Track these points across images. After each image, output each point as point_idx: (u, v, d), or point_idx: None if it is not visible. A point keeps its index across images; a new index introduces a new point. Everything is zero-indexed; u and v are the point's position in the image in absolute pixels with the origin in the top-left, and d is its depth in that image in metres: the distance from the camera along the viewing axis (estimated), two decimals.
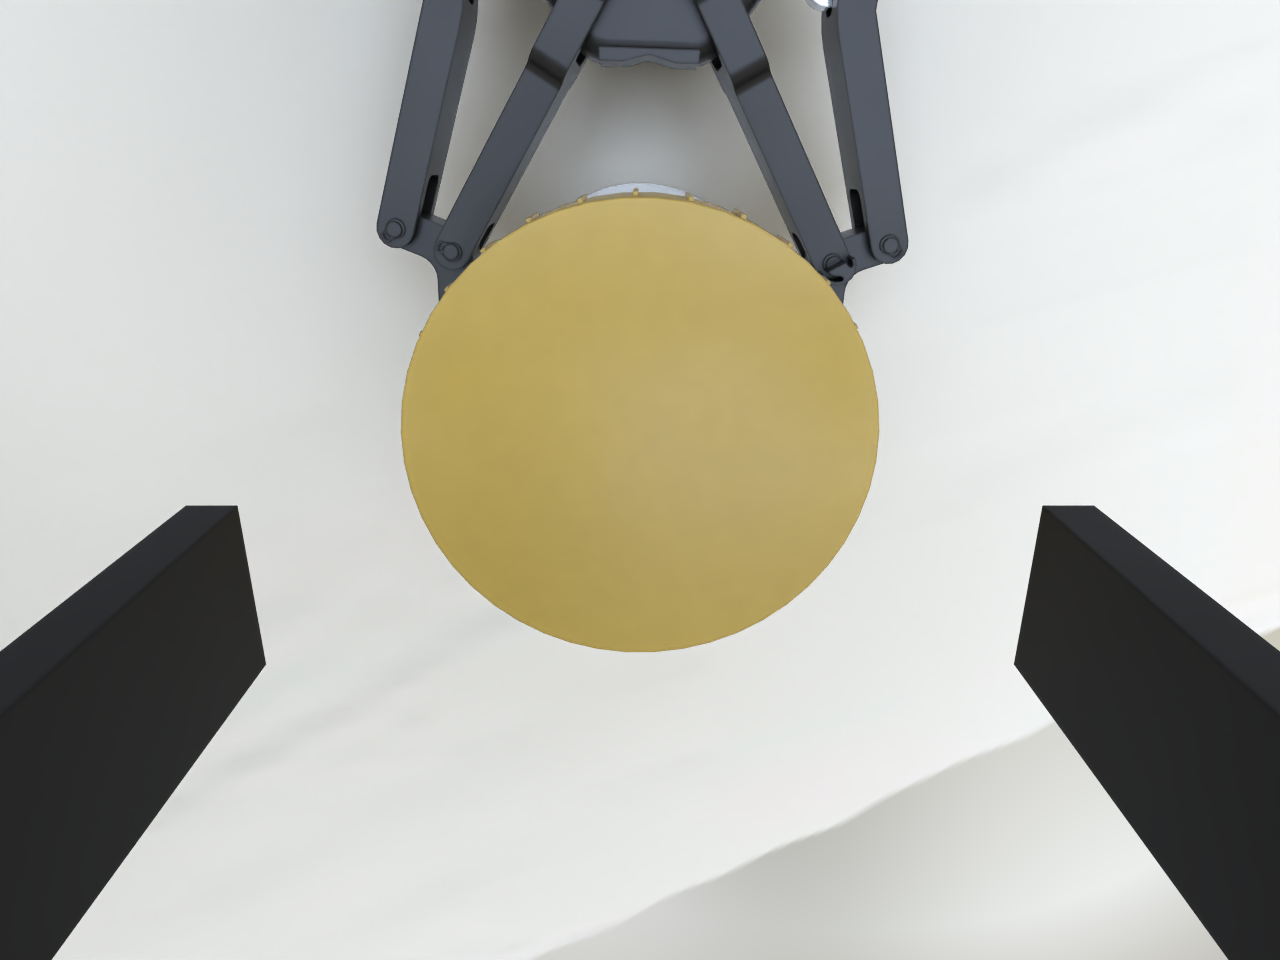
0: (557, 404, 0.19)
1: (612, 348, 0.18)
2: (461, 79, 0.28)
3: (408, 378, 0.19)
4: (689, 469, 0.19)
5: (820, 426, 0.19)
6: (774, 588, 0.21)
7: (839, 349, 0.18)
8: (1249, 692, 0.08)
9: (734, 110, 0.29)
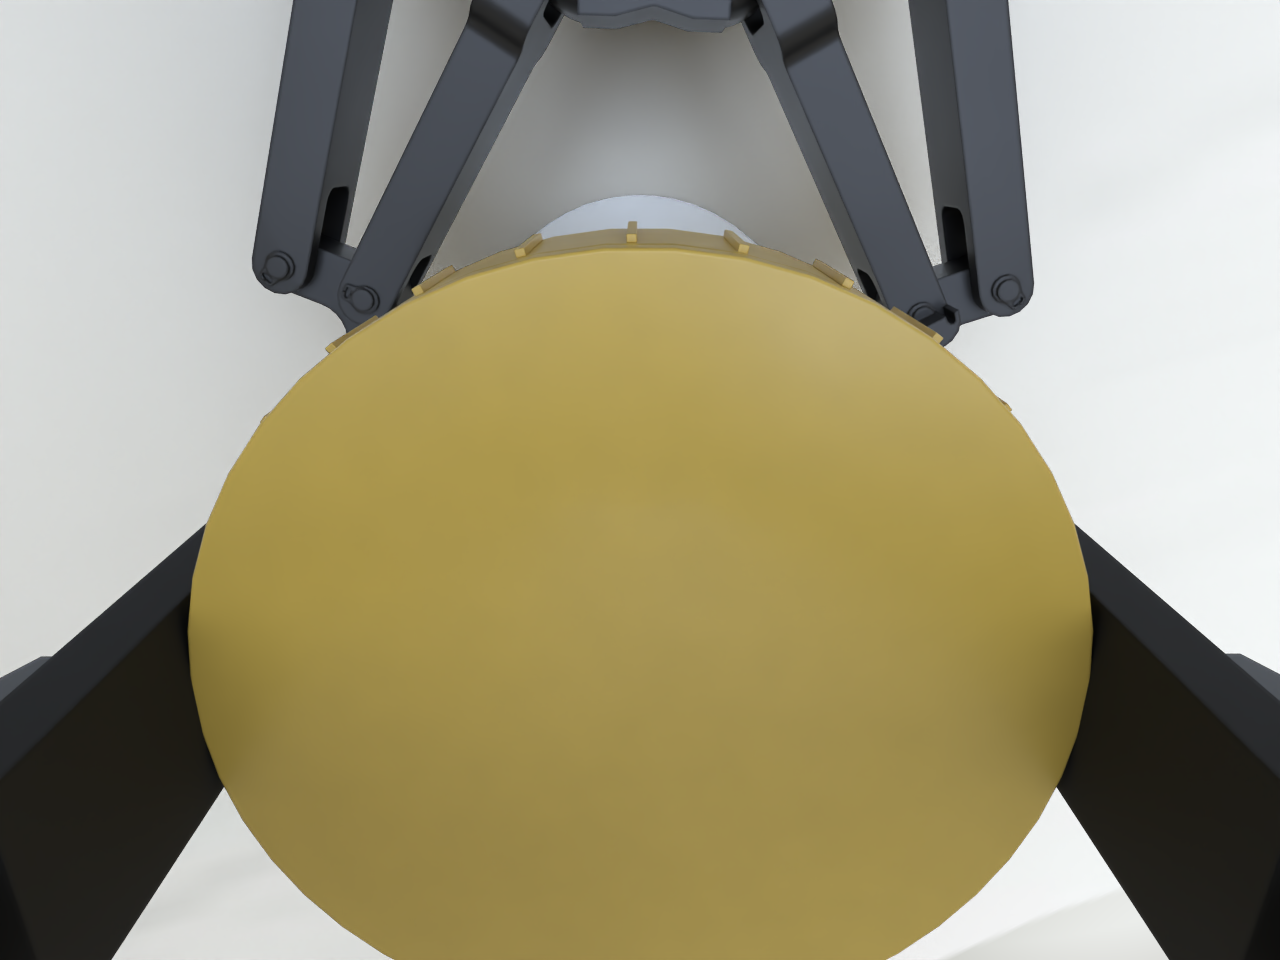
0: (483, 633, 0.10)
1: (586, 536, 0.10)
2: (377, 46, 0.19)
3: (194, 590, 0.10)
4: (732, 743, 0.10)
5: (980, 672, 0.10)
6: (879, 929, 0.12)
7: (1028, 538, 0.10)
8: (1165, 669, 0.09)
9: (777, 92, 0.20)
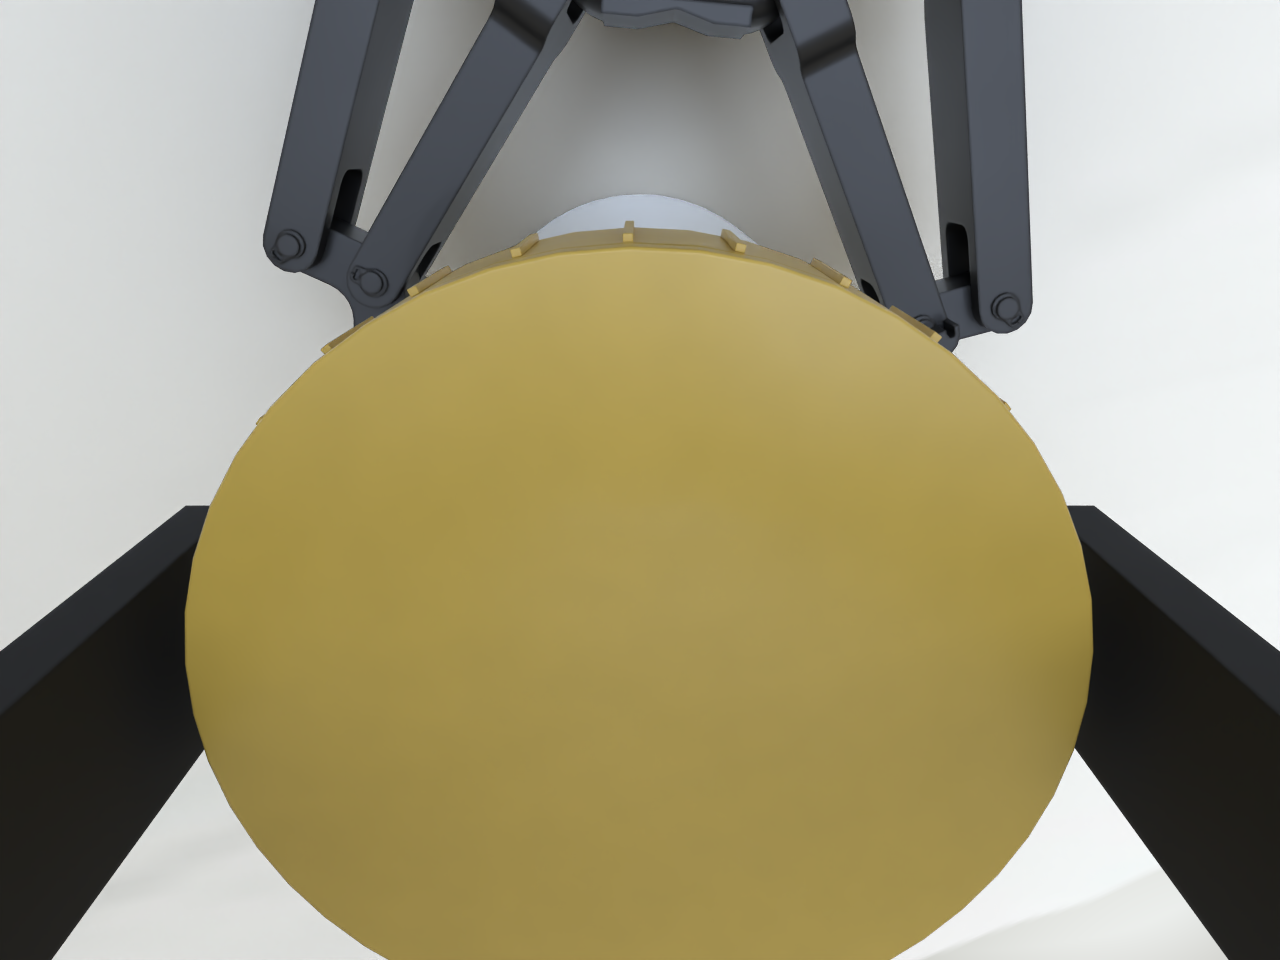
0: (552, 825, 0.11)
1: (451, 741, 0.10)
2: (399, 32, 0.19)
3: None
4: (690, 628, 0.10)
5: (611, 378, 0.09)
6: (987, 470, 0.09)
7: (440, 343, 0.09)
8: (1249, 692, 0.08)
9: (791, 101, 0.20)
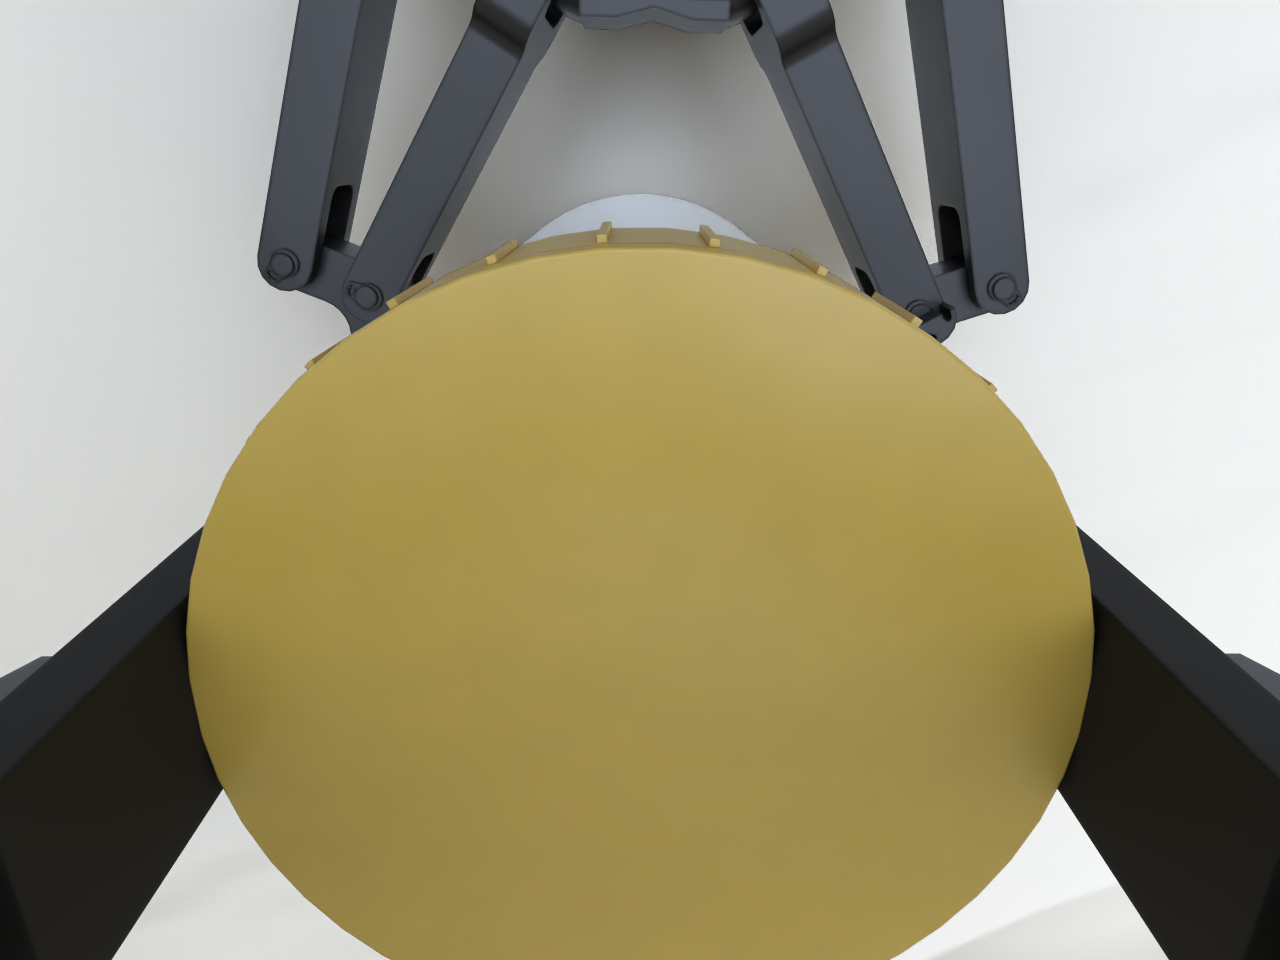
0: (561, 827, 0.11)
1: (456, 748, 0.10)
2: (381, 47, 0.19)
3: None
4: (686, 625, 0.10)
5: (592, 380, 0.09)
6: (975, 452, 0.09)
7: (420, 354, 0.09)
8: (1164, 669, 0.09)
9: (776, 93, 0.20)
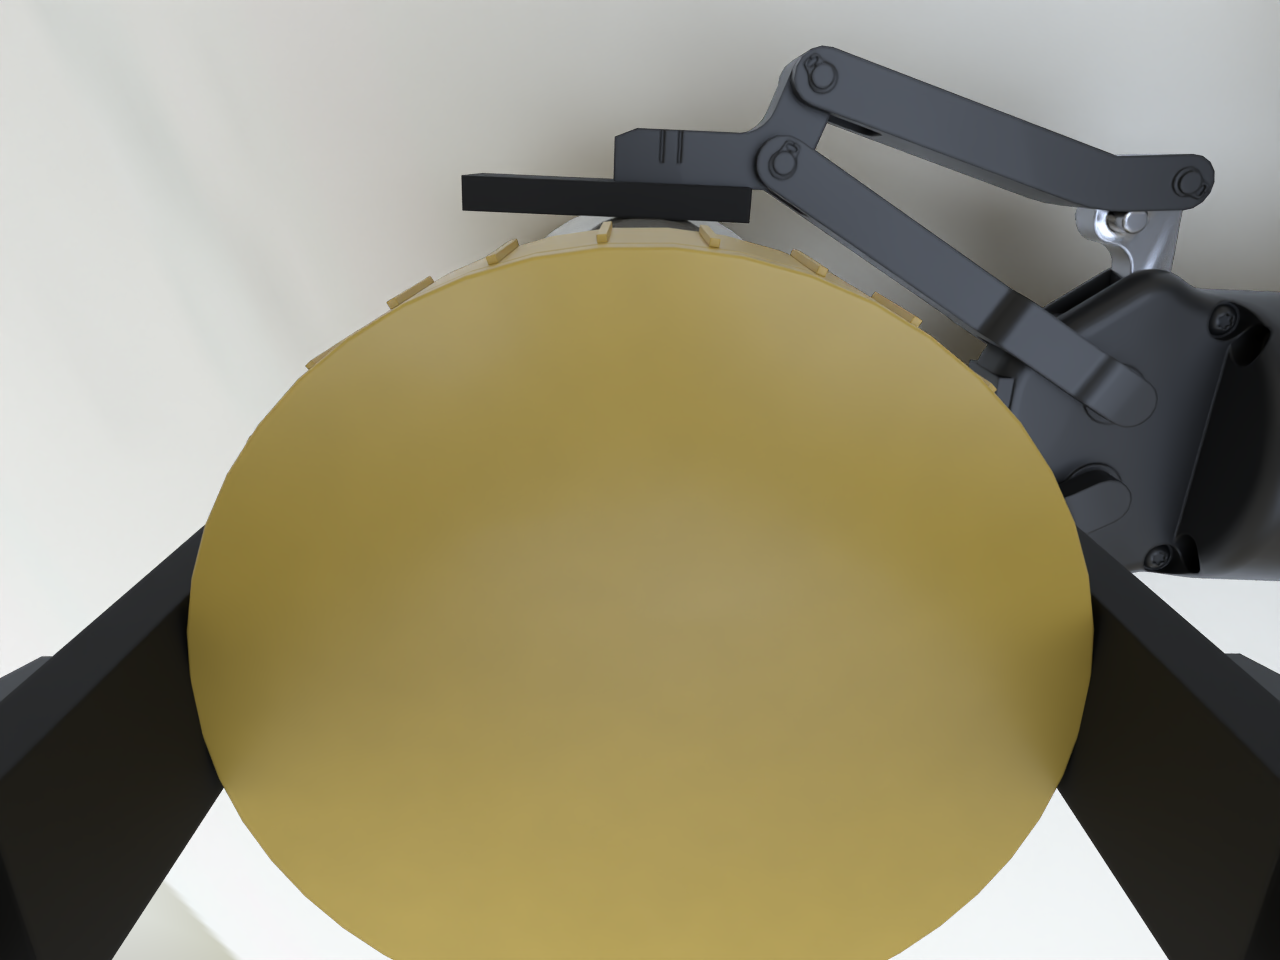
0: (561, 827, 0.11)
1: (456, 747, 0.10)
2: (983, 179, 0.21)
3: None
4: (686, 625, 0.10)
5: (592, 379, 0.09)
6: (975, 452, 0.09)
7: (421, 353, 0.09)
8: (1164, 668, 0.09)
9: None
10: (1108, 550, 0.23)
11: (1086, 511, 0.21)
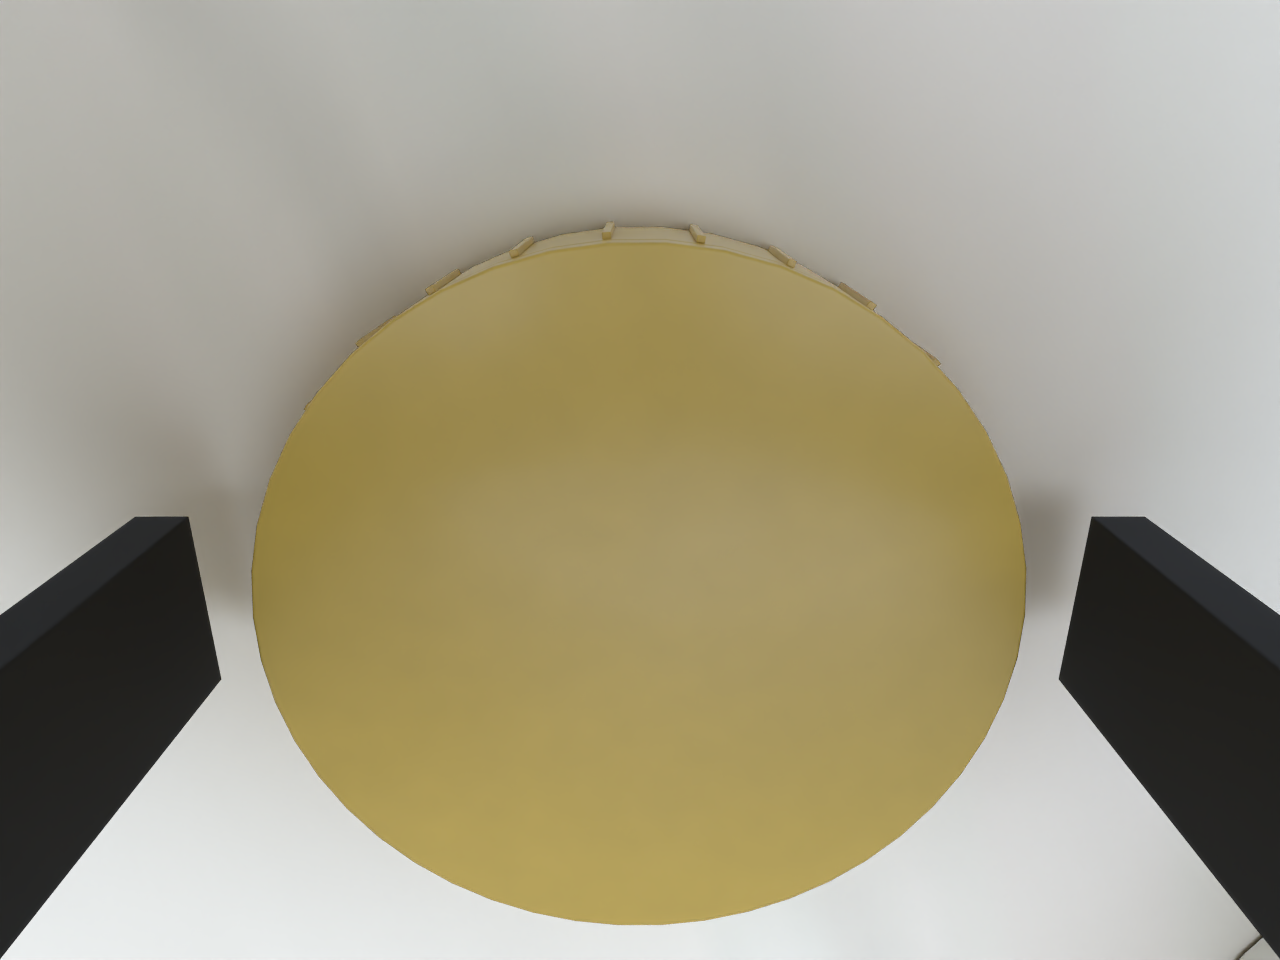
0: (570, 745, 0.13)
1: (481, 674, 0.12)
2: None
3: (540, 913, 0.14)
4: (678, 565, 0.12)
5: (598, 354, 0.11)
6: (920, 415, 0.11)
7: (455, 331, 0.10)
8: None
9: None
10: None
11: None
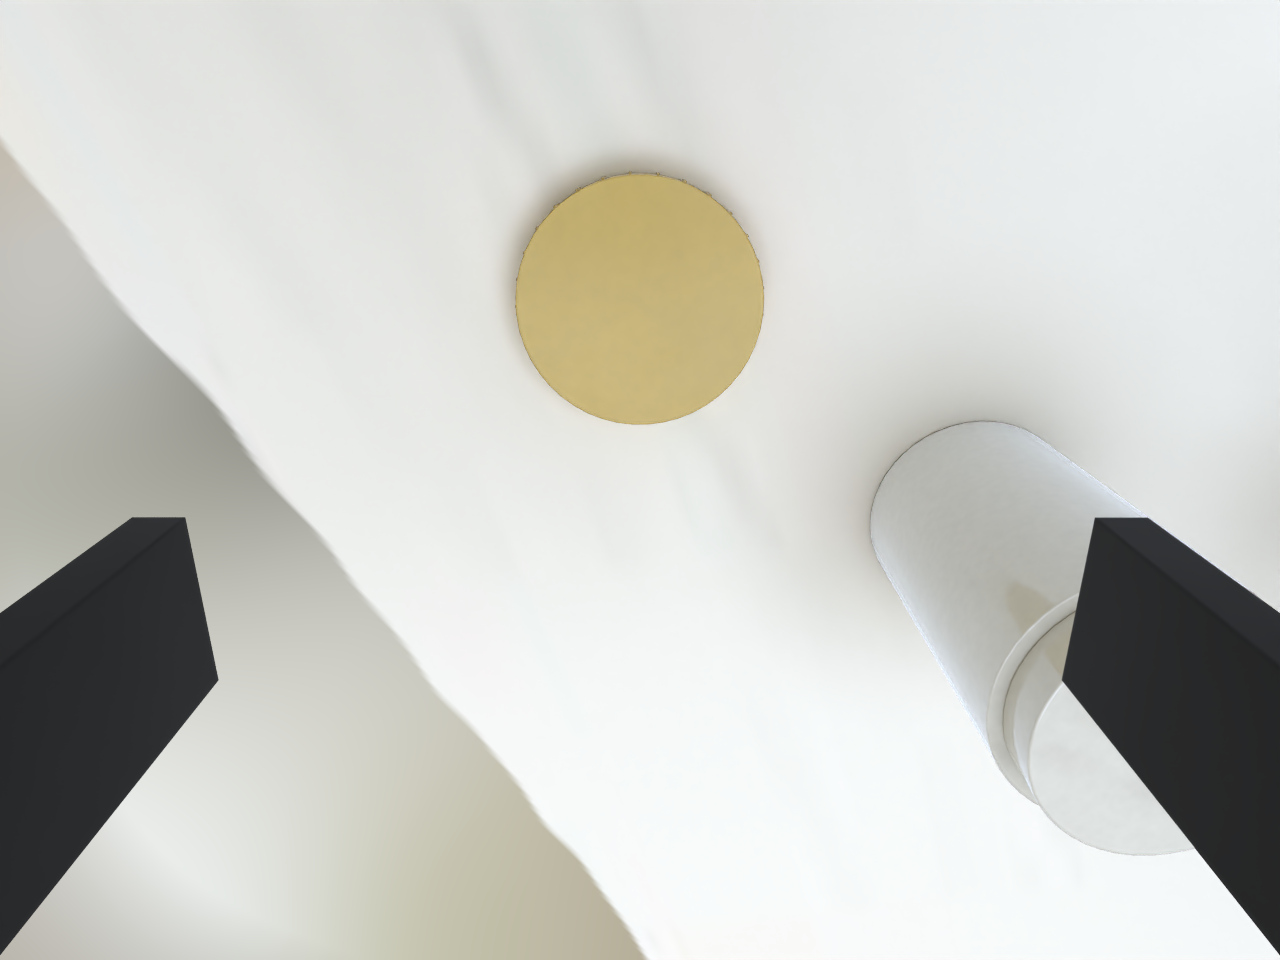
0: (616, 347, 0.38)
1: (588, 319, 0.37)
2: None
3: (604, 418, 0.39)
4: (652, 279, 0.37)
5: (627, 208, 0.36)
6: (724, 228, 0.36)
7: (585, 201, 0.36)
8: None
9: None
10: None
11: None
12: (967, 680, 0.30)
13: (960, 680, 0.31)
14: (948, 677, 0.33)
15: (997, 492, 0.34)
